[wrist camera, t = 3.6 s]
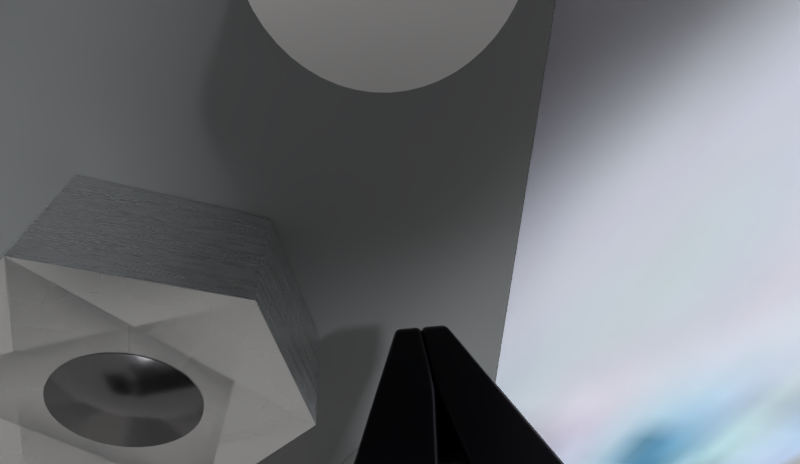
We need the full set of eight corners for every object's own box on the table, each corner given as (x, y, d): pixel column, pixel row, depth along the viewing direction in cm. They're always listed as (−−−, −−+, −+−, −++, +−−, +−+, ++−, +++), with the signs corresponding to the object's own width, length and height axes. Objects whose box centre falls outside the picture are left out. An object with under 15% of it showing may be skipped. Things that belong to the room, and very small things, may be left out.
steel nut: (239, 138, 7) (212, 212, 6) (336, 380, 11) (337, 471, 9) (-84, 208, 8) (-202, 300, 6) (113, 426, 11) (72, 525, 9)
